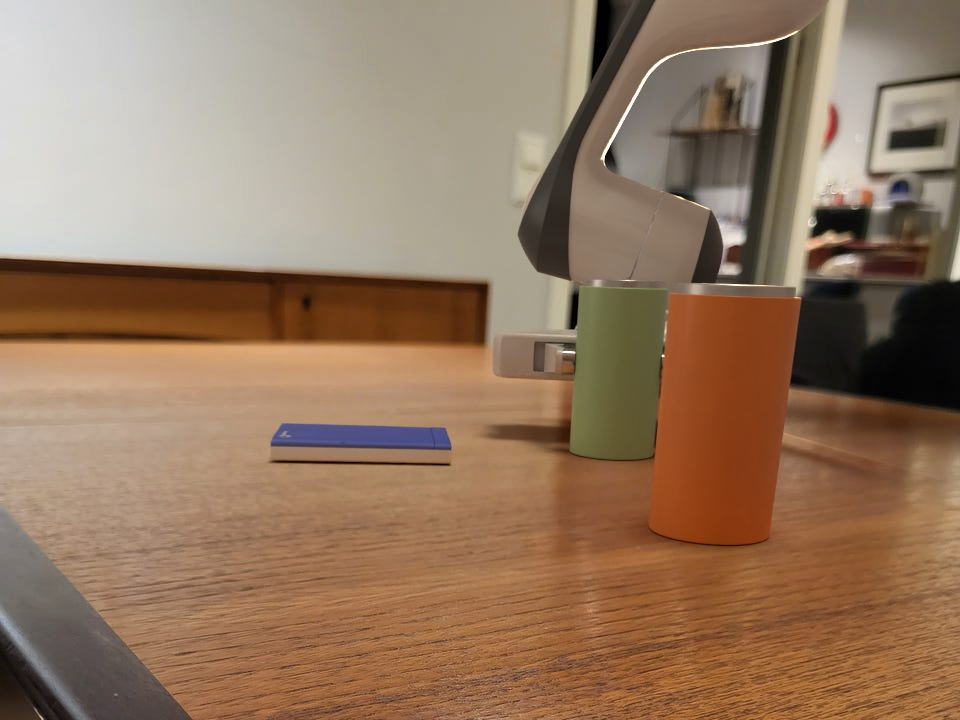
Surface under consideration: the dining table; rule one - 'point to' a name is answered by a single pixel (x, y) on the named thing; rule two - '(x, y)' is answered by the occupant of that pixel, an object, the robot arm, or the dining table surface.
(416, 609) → the dining table surface
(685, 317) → the orange can
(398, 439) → the hard drive
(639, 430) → the green can
